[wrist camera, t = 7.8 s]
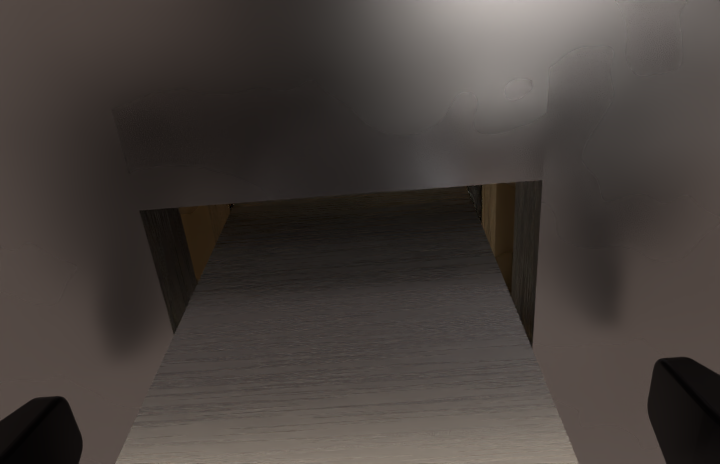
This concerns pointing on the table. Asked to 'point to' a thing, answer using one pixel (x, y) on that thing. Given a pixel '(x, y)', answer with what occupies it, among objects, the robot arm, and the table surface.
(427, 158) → the slotted bridge-shaped block
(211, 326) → the tall square pillar
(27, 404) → the robot arm
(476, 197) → the table surface
